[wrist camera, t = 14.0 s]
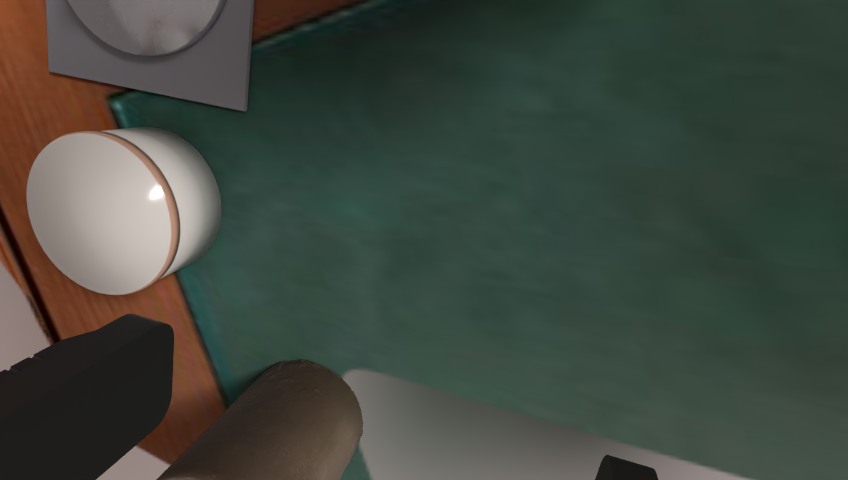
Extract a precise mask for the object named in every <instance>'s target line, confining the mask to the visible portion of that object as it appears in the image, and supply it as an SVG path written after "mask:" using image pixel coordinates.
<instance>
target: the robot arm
mask: <svg viewBox="0 0 848 480" xmlns="http://www.w3.org/2000/svg"><path fill="white" fill-rule="evenodd" d="M173 352H174V332H173V329H172V327H171V326H170V325H169V324H166V323H162V322H159V321H156V320H152V319H149V318H145V317H142V316H139V315H135V314H126V315H124V316H122V317H120V318H118V319H116V320H114V321H113V322H111V323H109V324H107V325H105V326H103V327H101V328H100V329H98V330H96V331H92V332H89V333H85V334H82V335H78V336H75V337H71V338H67V339H64V340H61V341H59V342H57V343H55V344H53V345H51V346H49V347H47V348H45V349H44V350H42V351H40V352H38V353H36V354H34V357H33V358H29V357H28V358H26V359H24V360H22V361H21V362H19V363H17V364H15V365H13V366H11V369H10V370H9V371H7V370H3V371H1V372H0V480H96V479H97V478H98V477H99V476H100V475H102V474H103V473H104V472H105V471H106V470H107V469H109V468H110V467H111V466H112V465H113V464H115V463H116V462H117V461H118V460H119V459H120V458H121V457H123V456H124V455H125V454H126V453H127V452H128V451H130V450H131V449H132V448H133V447H134V446H135V445H137V444H138V443H139V442H140V441H141V440H142V439H144V438H145V437H146V436H147V435H148V434H149V433H151V432H152V431H153V430H154V429H155V428H156V427H157V426H158V425H159V424H160V422H161V421H162V419H163V418H164V416H165V414H166V412H167V410H168V408H169V405H170V402H171V396H172V377H173ZM595 480H658V478H657V474H656V472H655V470H654V469H653V468H650V467H647V466H643V465H640V464H636V463H633V462H630V461H626V460H623V459H619V458H616V457H612V456H609V455H606V456H605V457H604V458H603V460H602V462H601V465H600V467H599V470H598V473H597V476H596V479H595Z"/></svg>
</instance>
